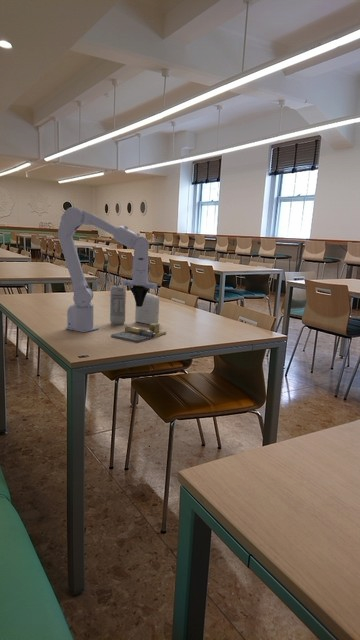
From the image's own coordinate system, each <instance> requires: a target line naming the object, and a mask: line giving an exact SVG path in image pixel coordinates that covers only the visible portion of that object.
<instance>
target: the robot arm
mask: <svg viewBox="0 0 360 640" xmlns="http://www.w3.org/2000/svg"><path fill="white" fill-rule="evenodd" d="M59 223H60V224H59V226H58V230H57V238H58V241H59V244H60V248H61V251H62V253H63V256H64V260H65V264H66V266H67V269H68V272H69V276H70V280H71V283H72V284H71V285H72V291H73V296H72V298H73V304H72V305H69V307H68V309H67V311H66V312H67V313H66V314H67V316H66V317H67V320H66V321H67V322H66V325H67V326H66V327H65V329H67V330H71V331H75V332H80V333H87V332H91V331H95V330H99V327H97V326H94V304H93V303H92V300H93V298H94V292H93V290H92V288H91V287H90V286H89V283H88V281H87V280H86V277H85V274H84V271H83V268H82V264H81V260H80V257H79V254H78V251H77V248H76V244H75V240H74V238H73V236H74V235H75V234H76V231H77V230H78V229H80V227H81V226H82V225H85V226H87V225H88V226H94V227H96V228H98V229H100V230H102V231H104V232H106V233H109V234H111V235H112V237H113V240H114V241H116V242H118V243H120V244H122V245H123V246H125V247H127V248H129V249H132V248H133V257H132V280H131V279H129V280H128V279H123V283H122V285H123V286H127V287H128V286H130V291H131V293H132V295H133V297H134V302H135V307H136V306H137V307H141V306H142V305H143V302H144V299H145V296H146V294H148V292H149V291H150V289H151V290H158V283H157V282H156V283H155V282H149V250H150V243H149V241H148V239H147V238H146V237H144V236H140V235H141V234H140V233H136V232H134V231H132V230H130V229H129V227H128V226H126V225H124V226H123V225H119V226H115V225H113V224H111V222H110V223H109V222H108V221H106V220H105V219H103V218H101V217H99V216H97V215H96V214H94V213H91V212H88V211H86V210H82V209H79V208H78V207H75V206H74V207H73V206H71V207H68V208H67V209H65V211H64V212H63V214H62V215H61V217H60V222H59Z"/></svg>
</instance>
